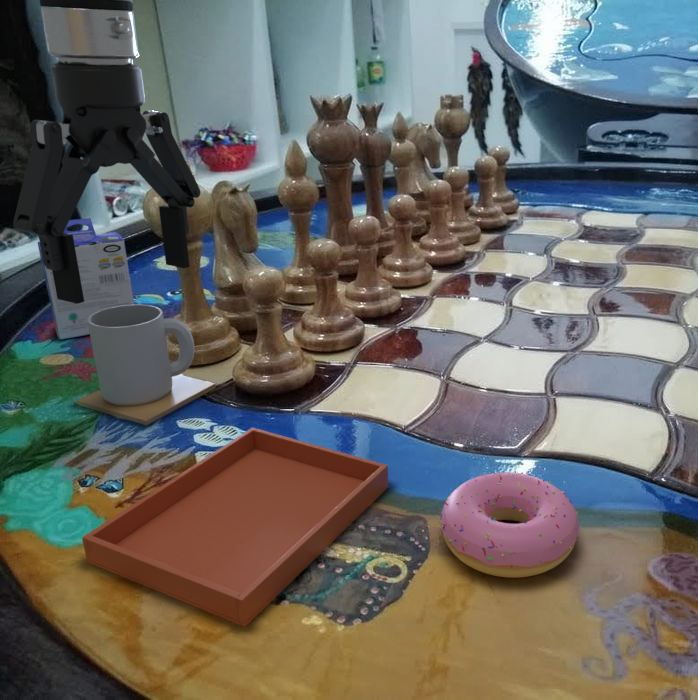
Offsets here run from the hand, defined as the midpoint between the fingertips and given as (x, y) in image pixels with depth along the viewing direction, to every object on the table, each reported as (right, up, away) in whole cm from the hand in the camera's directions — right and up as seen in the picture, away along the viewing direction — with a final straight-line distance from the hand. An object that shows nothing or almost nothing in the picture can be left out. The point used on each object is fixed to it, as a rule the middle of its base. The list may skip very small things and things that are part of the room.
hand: (128, 282), depth 76 cm
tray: (+17, -21, -15) cm, 31 cm away
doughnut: (+38, -23, -17) cm, 48 cm away
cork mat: (0, -12, +5) cm, 13 cm away
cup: (0, -12, +5) cm, 13 cm away
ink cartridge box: (-15, -4, +23) cm, 28 cm away
